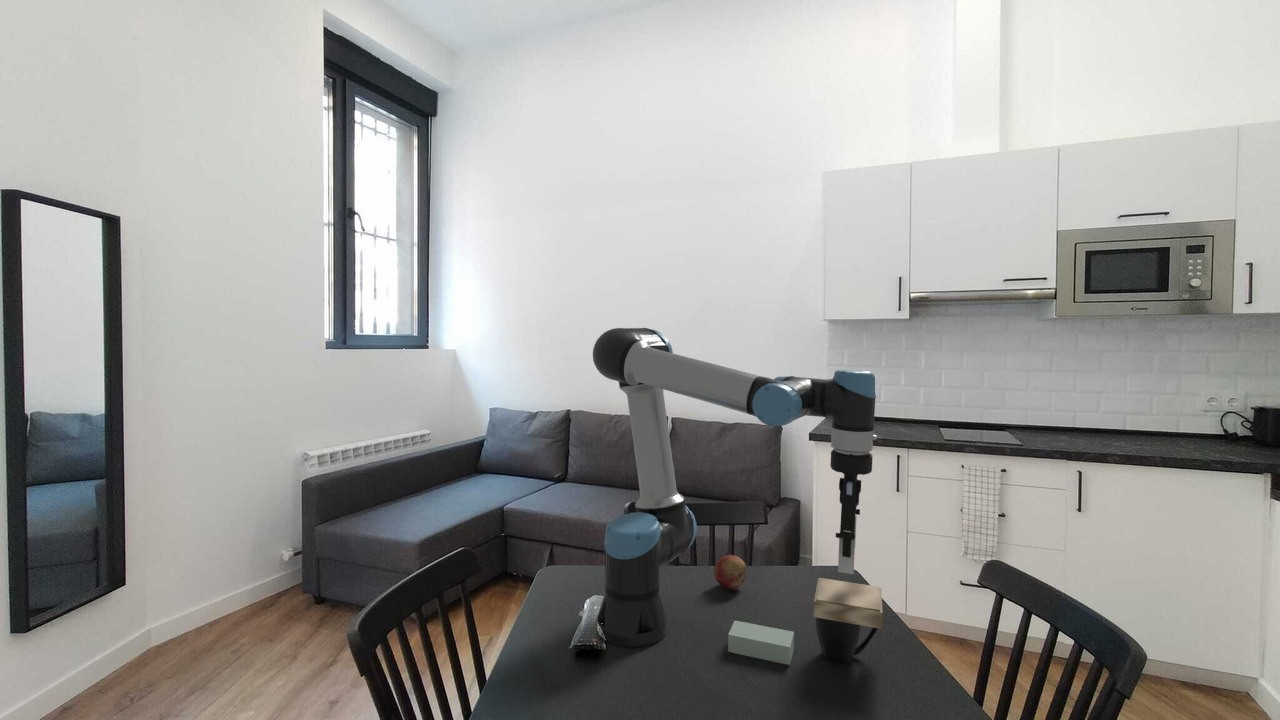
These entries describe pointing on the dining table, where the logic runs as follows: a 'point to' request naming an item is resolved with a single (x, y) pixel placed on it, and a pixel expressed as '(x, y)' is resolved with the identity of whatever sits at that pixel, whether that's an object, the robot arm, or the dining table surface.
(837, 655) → the mug
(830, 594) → the lid
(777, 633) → the sage green box base
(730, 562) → the fruit
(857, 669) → the dining table surface
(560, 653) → the dining table surface
